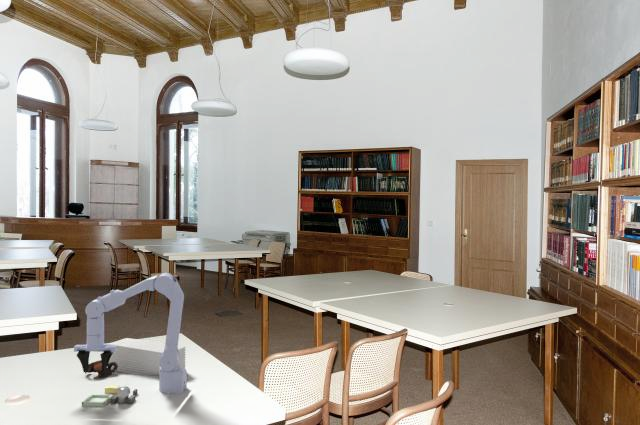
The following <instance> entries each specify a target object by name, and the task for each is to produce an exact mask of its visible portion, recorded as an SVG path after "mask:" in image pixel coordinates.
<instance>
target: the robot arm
mask: <svg viewBox="0 0 640 425" xmlns="http://www.w3.org/2000/svg"><path fill="white" fill-rule="evenodd" d="M155 290H156V292H158V293H160V294H161V295H163V296H165V297H166V298H167V299H168V300H169V301H170V303H169V304H170V306H169V313H168V319H167V320H168V322H167V329H166V335H165V336H166V337H165V342H164V344H165V348H164V352H163V354H162V358H161V359H160V373H159V375H158V376H159V378H158V379H159V383H158V384H159V388H158V389H159V390H158V391H159V392H161V393H165V394H166V393H167V394H170V395H171V394H182V393H184V392H185V390H186V389H187V381H188V380H187V379H188V378H187V375H188V374H187V373H188V372H187V369H186V368H185V369H182V368H180V365H179V364H178V359H179V351H178V346H179V340H180V331H181V323H182V315H183V309H184V300H185V293H184V292H183V289H182V288H181V286H180V284H179V282H178V279H177V278H176V277H175V276H174V275H173V274H172V273H170V272H162V273H160V274H156V275H153V276H150V277H149V278H145V279H144V280H142V281H140V282H138V283H135V284H134V285H131V286H130V287H128V288H126V289H124V290H120V289H112V290H110V291H109V293H107V294H105V295H102V296H100V295H99V296H98V297H96V298H95V299H93V300H91V301H90V302H89V303H87V305H86V306H85V309H84V312H85V315H86V344H76V345H74V346H73V352H77V353H76V357H77V358H78V360H79V361H80V364H81V367H82V371H83V373H85V372H86V373H87V371H88V369H89V364H90V363H89V362H90V360H89V359H90V353H91V352H97V353H98V352H101V353H100V356H99V357H100V360H102V373H104V372H106V371H107V366H108V363H109V360H110V358H111V356H112V354H113V352H115V351H116V346H114V345H108V343H107V344H106V343H105V312H110V311H113V310H114V309H117V308H118V307H121V306H123V305H125V303H126V300H127V299H129V298H132V297H133V296H136V295H138V294H141V293H143V292H145V291H150V292H154V291H155Z"/></svg>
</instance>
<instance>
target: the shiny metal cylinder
mask: <svg viewBox="0 0 640 425" xmlns="http://www.w3.org/2000/svg"><path fill="white" fill-rule="evenodd" d="M129 388H130V387H129V386H119V388H118V389H117V402H116V403H117V405H125V404H127V399H128V398H129V397H130V395H129V393H130V392H129Z"/></svg>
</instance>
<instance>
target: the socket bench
mask: <svg viewBox="0 0 640 425" xmlns="http://www.w3.org/2000/svg"><path fill="white" fill-rule="evenodd" d="M130 390H131V388H130V387H129V393H130V392H131V391H130ZM137 395H138V389H137V388H134V389H133V390H132V394H131V395H129V398H128V399H127V403H126V405H132V404H133V403H135V401H136V396H137ZM116 403H117V395H113V397H112V398H111V399H110V402H109V404H110V405H111V404H112V405H115V404H116Z"/></svg>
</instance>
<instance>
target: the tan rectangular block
mask: <svg viewBox="0 0 640 425" xmlns="http://www.w3.org/2000/svg"><path fill="white" fill-rule="evenodd" d="M119 387H120V386H118V385H117V386H114V385H107V386H106V387H104V394H108V395H113V396H114V395H117V389H118V388H119Z"/></svg>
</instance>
